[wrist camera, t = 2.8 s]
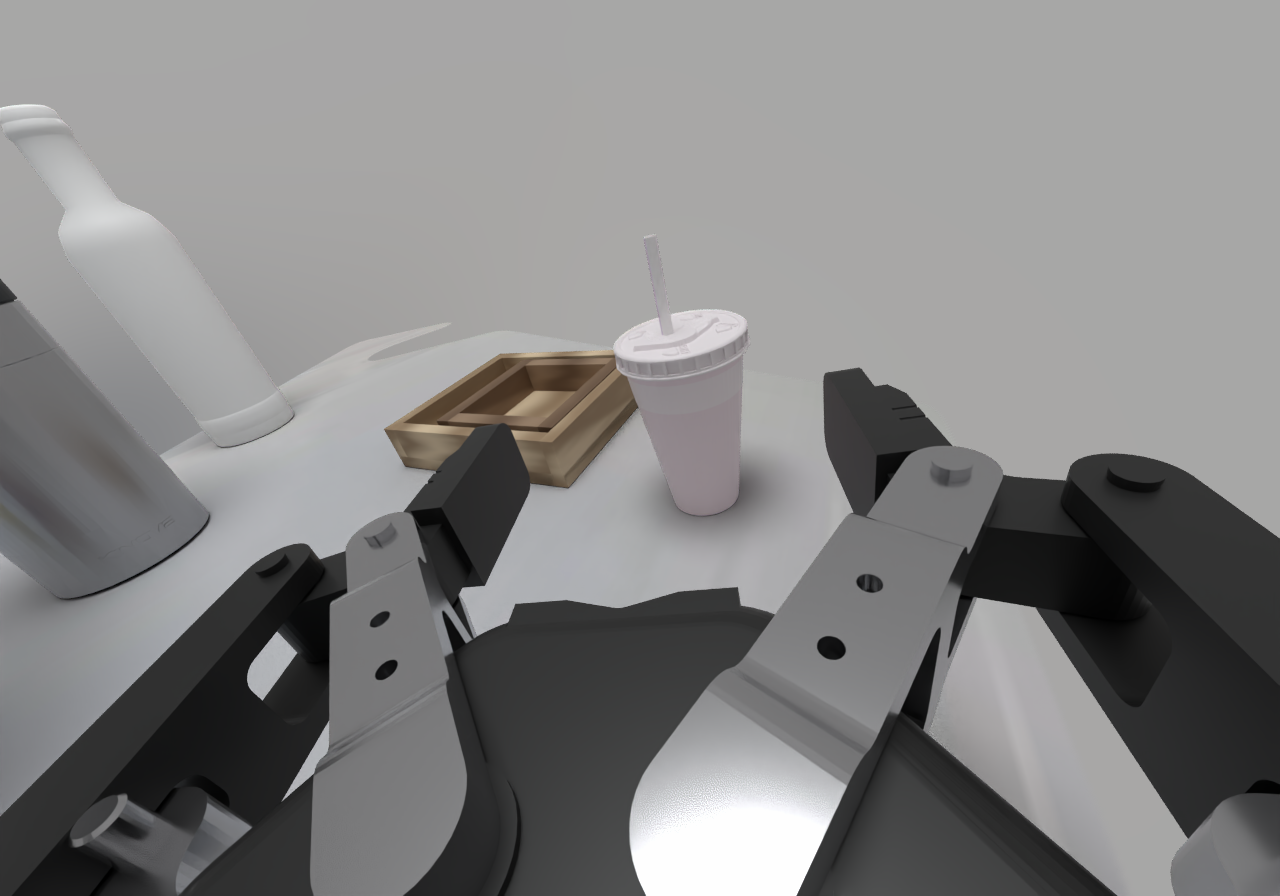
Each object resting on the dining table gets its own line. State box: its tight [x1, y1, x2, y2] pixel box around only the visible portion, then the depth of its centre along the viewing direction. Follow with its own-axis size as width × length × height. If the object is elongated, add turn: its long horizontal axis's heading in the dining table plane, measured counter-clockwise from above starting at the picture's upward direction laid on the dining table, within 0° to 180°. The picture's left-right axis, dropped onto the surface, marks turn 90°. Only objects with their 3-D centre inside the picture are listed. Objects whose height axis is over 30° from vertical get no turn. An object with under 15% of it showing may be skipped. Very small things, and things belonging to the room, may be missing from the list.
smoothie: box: [613, 234, 750, 516], centre depth 23 cm, size 6×6×14 cm
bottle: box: [0, 104, 294, 447], centre depth 46 cm, size 8×8×30 cm
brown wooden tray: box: [384, 350, 638, 488], centre depth 38 cm, size 16×14×4 cm
